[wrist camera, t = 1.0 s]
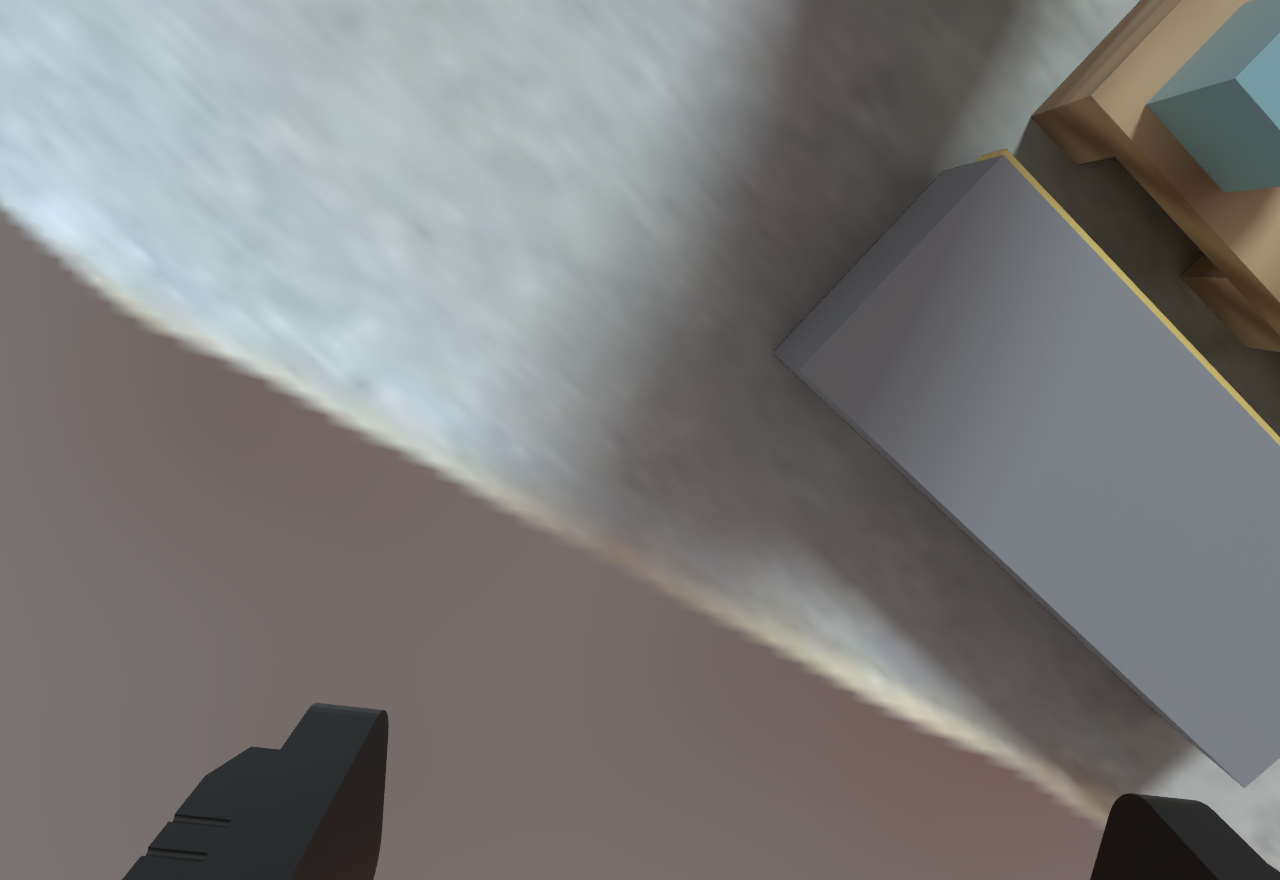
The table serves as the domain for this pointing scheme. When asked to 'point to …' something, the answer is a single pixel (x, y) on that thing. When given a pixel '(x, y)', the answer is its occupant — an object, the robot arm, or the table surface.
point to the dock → (1069, 443)
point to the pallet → (1174, 159)
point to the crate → (1231, 100)
